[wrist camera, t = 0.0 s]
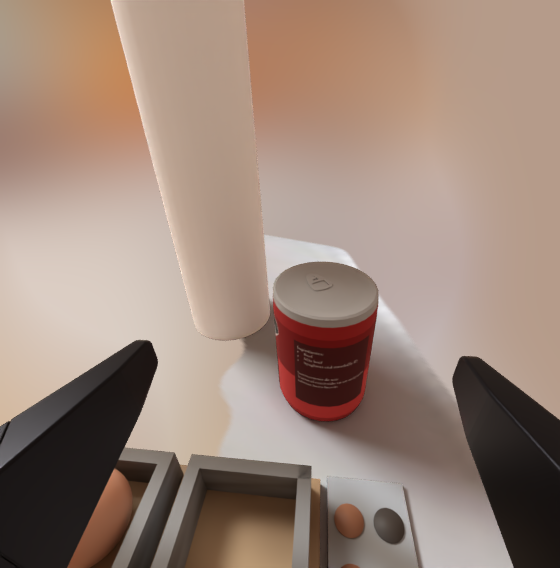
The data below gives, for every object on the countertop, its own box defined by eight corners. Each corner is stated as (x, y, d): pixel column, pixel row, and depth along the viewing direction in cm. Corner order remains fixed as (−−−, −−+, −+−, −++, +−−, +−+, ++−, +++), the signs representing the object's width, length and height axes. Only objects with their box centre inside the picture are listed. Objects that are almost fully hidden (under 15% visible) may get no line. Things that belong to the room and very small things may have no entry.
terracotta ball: (114, 594, 17) (77, 561, 14) (32, 580, 17) (-19, 546, 15) (156, 492, 21) (134, 451, 18) (89, 484, 21) (58, 444, 19)
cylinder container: (262, 288, 43) (235, 1, 27) (277, 331, 35) (251, -38, 19) (194, 299, 41) (121, 2, 25) (193, 347, 33) (87, -40, 17)
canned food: (319, 343, 33) (321, 251, 27) (382, 389, 28) (403, 287, 22) (262, 381, 29) (250, 284, 23) (323, 443, 24) (328, 337, 18)
